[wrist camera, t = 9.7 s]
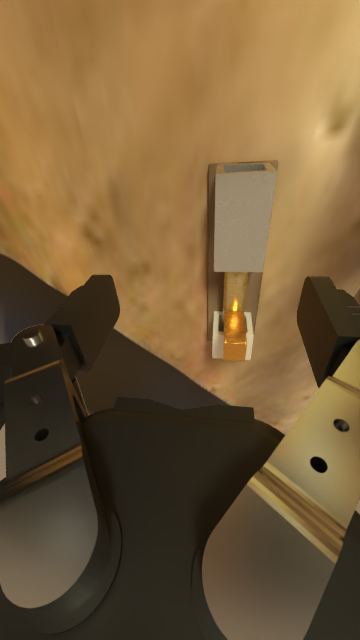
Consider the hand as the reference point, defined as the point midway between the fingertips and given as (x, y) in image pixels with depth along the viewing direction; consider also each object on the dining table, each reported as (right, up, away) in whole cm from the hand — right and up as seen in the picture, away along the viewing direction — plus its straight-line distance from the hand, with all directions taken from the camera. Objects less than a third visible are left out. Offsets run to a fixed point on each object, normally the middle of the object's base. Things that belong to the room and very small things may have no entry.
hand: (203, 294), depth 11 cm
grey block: (+7, +13, +23) cm, 27 cm away
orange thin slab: (+7, +3, +29) cm, 30 cm away
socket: (+8, -2, +35) cm, 35 cm away
